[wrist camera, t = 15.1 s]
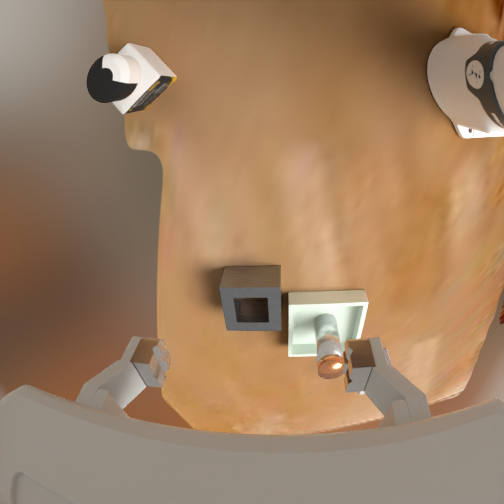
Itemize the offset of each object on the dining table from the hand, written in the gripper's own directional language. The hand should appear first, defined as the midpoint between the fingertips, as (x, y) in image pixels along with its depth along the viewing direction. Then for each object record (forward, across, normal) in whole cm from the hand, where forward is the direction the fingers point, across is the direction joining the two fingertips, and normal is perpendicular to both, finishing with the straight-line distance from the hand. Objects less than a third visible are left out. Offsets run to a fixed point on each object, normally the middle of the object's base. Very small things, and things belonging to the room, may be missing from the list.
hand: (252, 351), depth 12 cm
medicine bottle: (+33, +17, -15) cm, 40 cm away
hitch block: (+33, +5, +22) cm, 40 cm away
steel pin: (+32, -8, +30) cm, 45 cm away
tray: (+33, -8, +30) cm, 45 cm away
